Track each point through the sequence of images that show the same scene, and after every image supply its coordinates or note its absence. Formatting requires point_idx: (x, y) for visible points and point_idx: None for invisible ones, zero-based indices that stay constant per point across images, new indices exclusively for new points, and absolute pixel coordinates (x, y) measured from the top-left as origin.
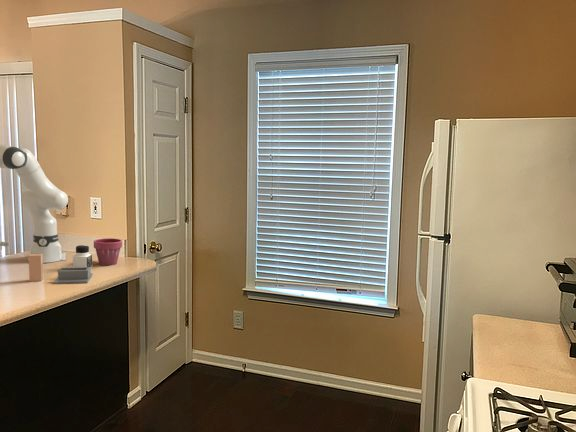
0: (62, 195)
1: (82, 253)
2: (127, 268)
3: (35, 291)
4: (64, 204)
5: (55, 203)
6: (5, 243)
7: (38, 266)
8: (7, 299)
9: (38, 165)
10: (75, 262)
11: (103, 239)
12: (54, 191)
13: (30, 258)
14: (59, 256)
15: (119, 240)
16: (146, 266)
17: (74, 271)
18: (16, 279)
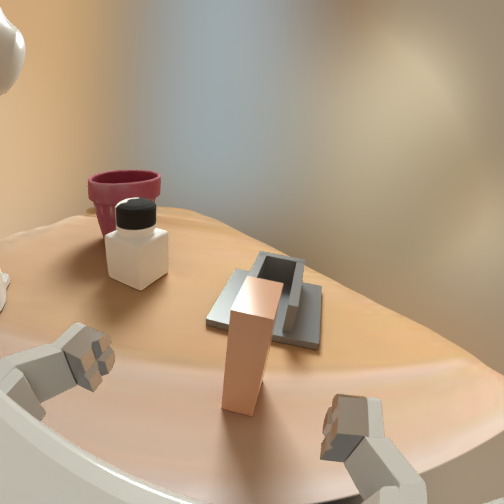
0: (23, 39)
1: (154, 225)
2: (198, 229)
3: (402, 388)
4: (19, 73)
5: (10, 62)
6: (92, 356)
7: (271, 338)
8: (480, 436)
9: None
10: (145, 264)
11: (92, 179)
12: (8, 22)
13: (272, 327)
14: (1, 276)
15: (125, 172)
16: (198, 214)
17: (301, 279)
18: (189, 461)
